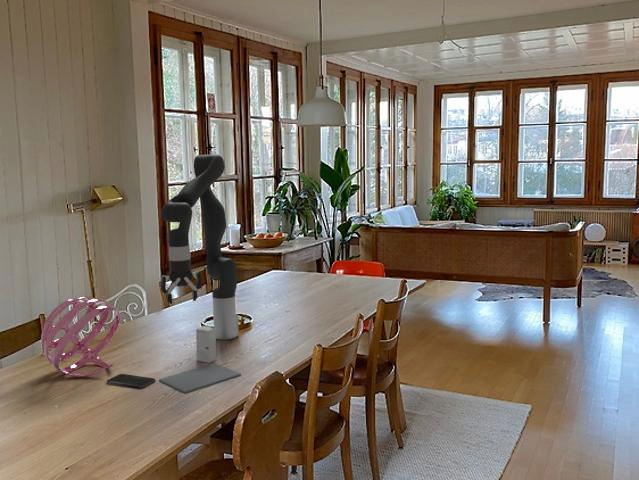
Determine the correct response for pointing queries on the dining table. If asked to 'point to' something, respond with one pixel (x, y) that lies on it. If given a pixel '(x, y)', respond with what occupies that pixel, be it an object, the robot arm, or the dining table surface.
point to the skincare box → (206, 344)
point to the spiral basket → (72, 333)
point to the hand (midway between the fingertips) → (182, 302)
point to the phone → (131, 381)
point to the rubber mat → (199, 377)
